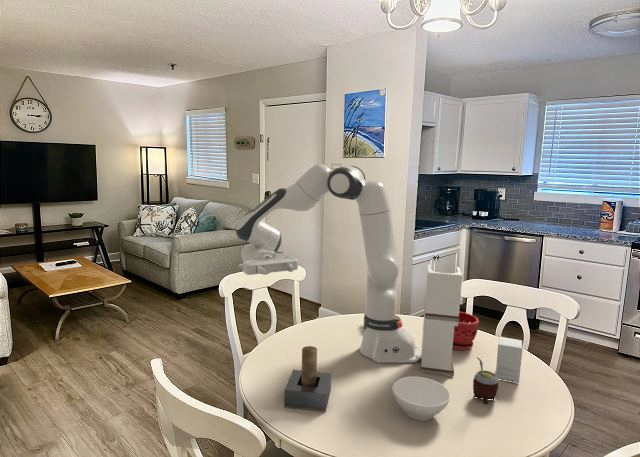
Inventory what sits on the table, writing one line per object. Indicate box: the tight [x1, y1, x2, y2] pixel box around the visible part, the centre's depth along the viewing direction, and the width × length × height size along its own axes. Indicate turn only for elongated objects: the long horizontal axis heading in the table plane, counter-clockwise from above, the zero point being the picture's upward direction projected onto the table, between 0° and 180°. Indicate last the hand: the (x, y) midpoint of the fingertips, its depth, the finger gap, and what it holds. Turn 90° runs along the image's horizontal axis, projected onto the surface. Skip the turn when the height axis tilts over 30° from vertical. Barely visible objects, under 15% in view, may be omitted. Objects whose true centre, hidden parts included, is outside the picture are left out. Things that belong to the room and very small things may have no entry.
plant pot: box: [452, 311, 480, 351], centre depth 169 cm, size 13×13×12 cm
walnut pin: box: [301, 345, 318, 387], centre depth 128 cm, size 4×4×15 cm
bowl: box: [391, 376, 451, 422], centre depth 123 cm, size 16×16×7 cm
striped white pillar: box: [420, 264, 463, 377], centre depth 149 cm, size 11×11×35 cm
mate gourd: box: [472, 356, 499, 405], centre depth 130 cm, size 8×8×15 cm
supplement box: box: [495, 336, 523, 384], centre depth 144 cm, size 7×7×13 cm
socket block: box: [283, 369, 332, 413], centre depth 128 cm, size 12×12×6 cm
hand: (279, 270), depth 149 cm, fingers open, 8 cm apart
